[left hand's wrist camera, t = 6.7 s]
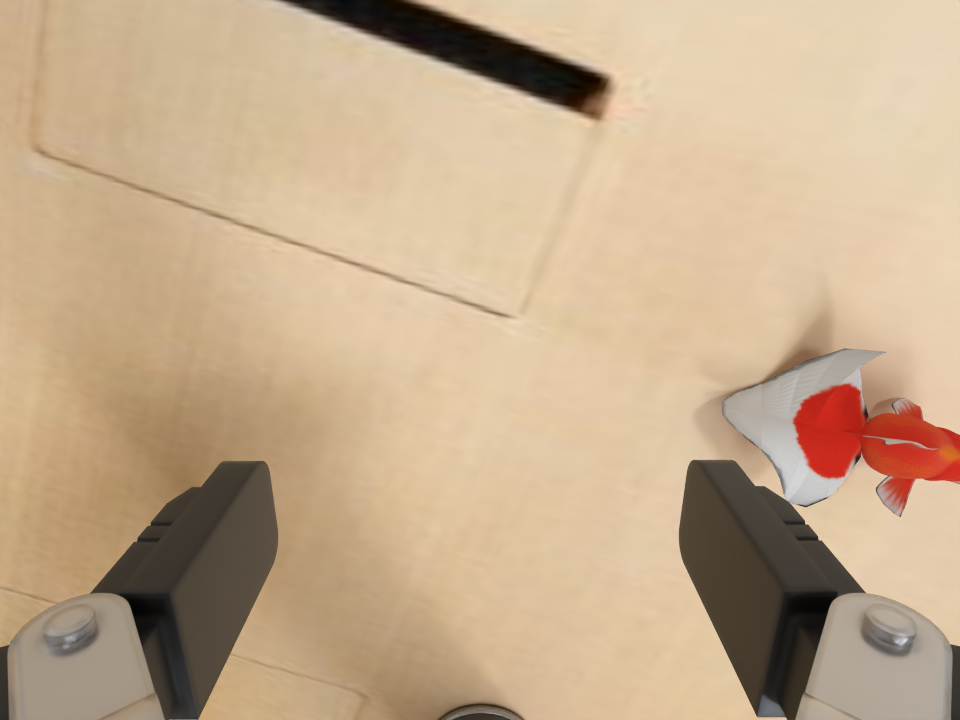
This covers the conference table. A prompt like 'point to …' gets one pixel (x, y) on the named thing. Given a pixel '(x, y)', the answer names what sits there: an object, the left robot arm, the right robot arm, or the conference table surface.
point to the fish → (839, 432)
